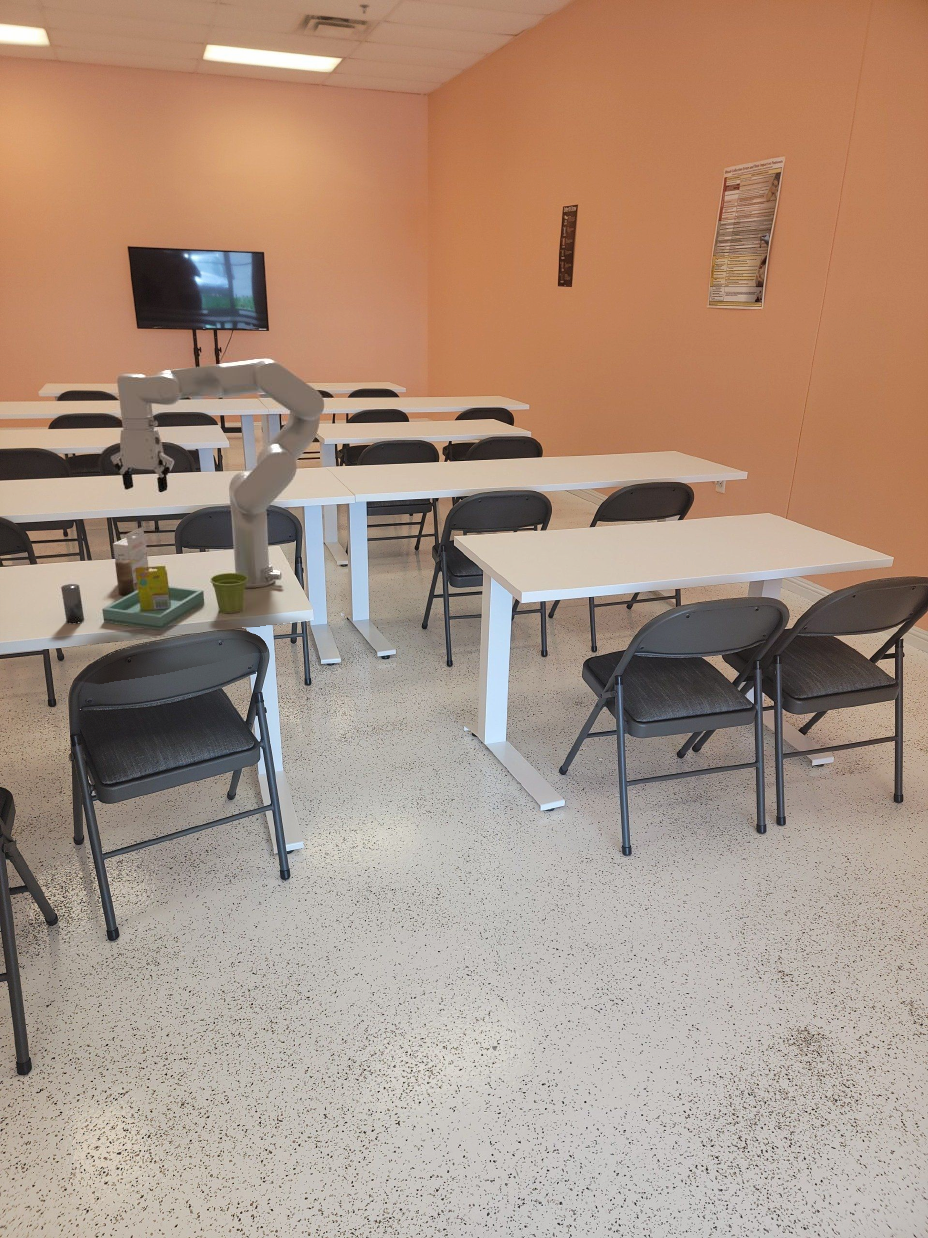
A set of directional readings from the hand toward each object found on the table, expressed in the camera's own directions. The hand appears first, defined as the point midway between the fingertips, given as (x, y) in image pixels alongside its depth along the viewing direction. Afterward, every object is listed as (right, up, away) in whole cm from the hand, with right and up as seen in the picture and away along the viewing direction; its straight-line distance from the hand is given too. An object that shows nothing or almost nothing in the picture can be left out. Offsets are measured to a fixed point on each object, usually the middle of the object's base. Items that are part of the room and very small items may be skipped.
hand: (146, 489), depth 211 cm
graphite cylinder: (-12, -35, -13) cm, 39 cm away
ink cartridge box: (-10, -23, +17) cm, 30 cm away
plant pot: (+23, -32, -1) cm, 39 cm away
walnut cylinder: (-8, -27, +6) cm, 29 cm away
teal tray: (+5, -33, -5) cm, 33 cm away
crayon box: (+5, -32, -5) cm, 32 cm away
